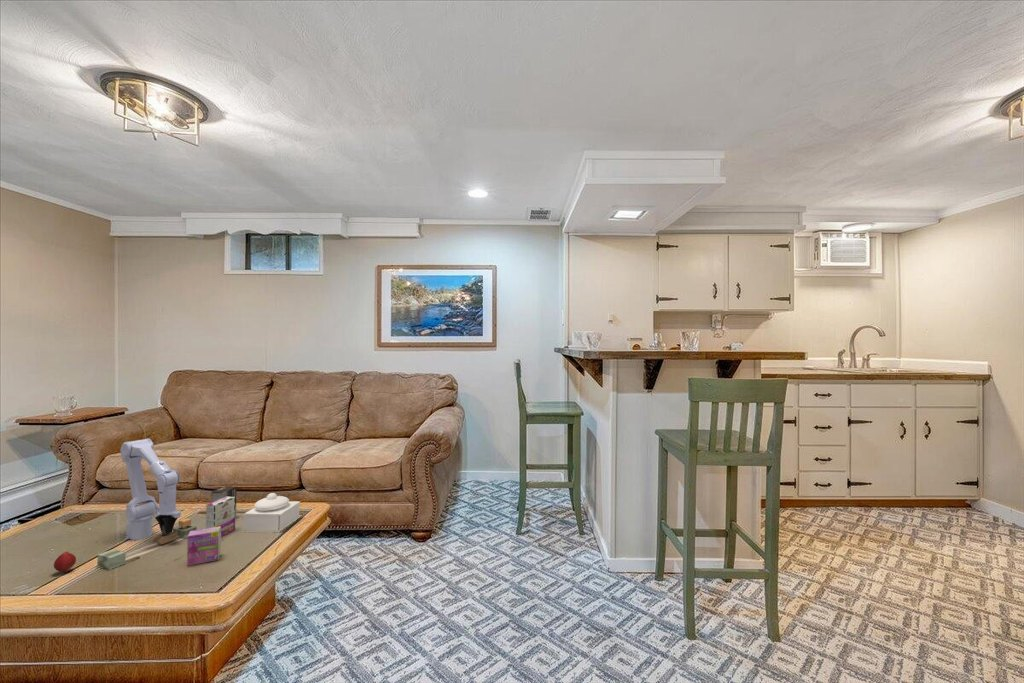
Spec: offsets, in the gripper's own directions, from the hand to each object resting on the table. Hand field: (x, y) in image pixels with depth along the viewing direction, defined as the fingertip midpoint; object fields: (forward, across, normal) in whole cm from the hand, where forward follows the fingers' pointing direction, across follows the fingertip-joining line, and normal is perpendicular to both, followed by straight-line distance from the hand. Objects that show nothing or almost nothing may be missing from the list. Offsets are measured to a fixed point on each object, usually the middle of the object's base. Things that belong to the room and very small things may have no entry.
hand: (166, 532), depth 186 cm
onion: (+6, -10, -29) cm, 31 cm away
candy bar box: (+6, +14, +14) cm, 21 cm away
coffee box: (+6, -2, +27) cm, 28 cm away
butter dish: (+6, +25, +32) cm, 41 cm away
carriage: (+3, 0, -1) cm, 3 cm away
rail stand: (+5, 0, -6) cm, 8 cm away
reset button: (+2, 0, +7) cm, 8 cm away
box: (+6, +30, -4) cm, 31 cm away
